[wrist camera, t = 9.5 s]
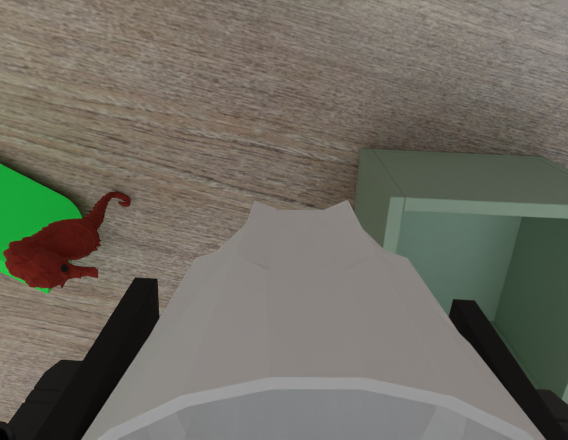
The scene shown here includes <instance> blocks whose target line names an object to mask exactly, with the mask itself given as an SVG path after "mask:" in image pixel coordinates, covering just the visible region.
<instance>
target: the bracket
mask: <svg viewBox="0 0 568 440" xmlns="http://www.w3.org/2000/svg"><path fill="white" fill-rule="evenodd" d="M74 218H75V219H79V218H81V219H82V217H81V214H80V212H79V210H78V209H77V207H76V206H75V205H74V204H73V203H72V202H71V201H70V200H69V199H67V198H66V197H64V196H62V195H60V194H58V193H56V192H55V191H53V190H51V189H49V188H47V187H45V186H43V185H41V184H39V183H37V182H35V181H33V180H31V179H29V178H27V177H25V176H23V175H21V174H19V173H17V172H15V171H13V170H12V169H10V168H8V167H6V166H4V165H2V164H0V272H1V273H4V274H6V275H8V276H10V277H12V278H14V279H16V280H19V281H21V282H23V283H25V284H26V282H25V281H24V280H22V279H19V278H17V277H14V276H12V275H11V274H10V273H9V270H8V269H7V268H6V265H5V262H6V261H7V260H6V258H5V256H4V255H3V252H4V250H6V249H8V248H9V246H8V245H9V243H10V242H13V241H19V240H22V238H24V237H28V236H32V235H34V234H35V233H37V232H38V231H40V230H42V228H43V227H46V226H48V224H50V223H53V222H55V221H60V220H65V219H74ZM68 261H69V263H70V262H71V261H72V260H68ZM27 285H28V284H27ZM34 288H36V287H34ZM36 289H38V290H40V291H42V292H44V293H47V294H48V293H49V292H50V290H51V289H52V288H51V289H48V288H43V289H41V288H36Z"/></svg>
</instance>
